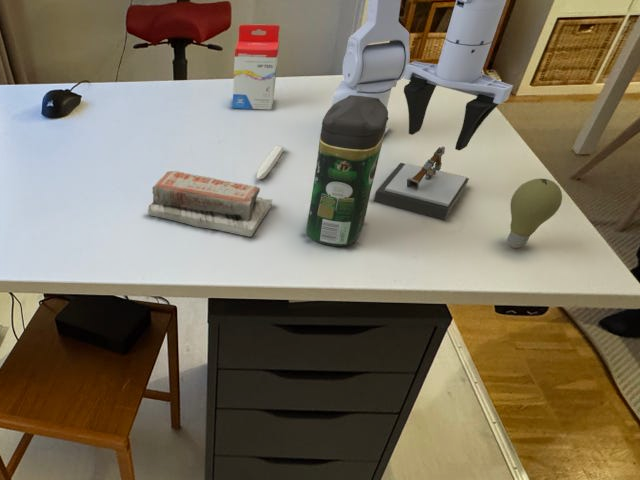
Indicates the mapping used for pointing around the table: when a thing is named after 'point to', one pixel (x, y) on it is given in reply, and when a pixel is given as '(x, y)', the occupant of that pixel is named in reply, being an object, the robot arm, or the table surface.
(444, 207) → the scale
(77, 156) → the table surface
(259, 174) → the pen
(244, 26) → the ink box
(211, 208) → the packaged product
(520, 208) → the light bulb
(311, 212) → the coffee jar
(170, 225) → the table surface
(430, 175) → the wooden post with brackets
